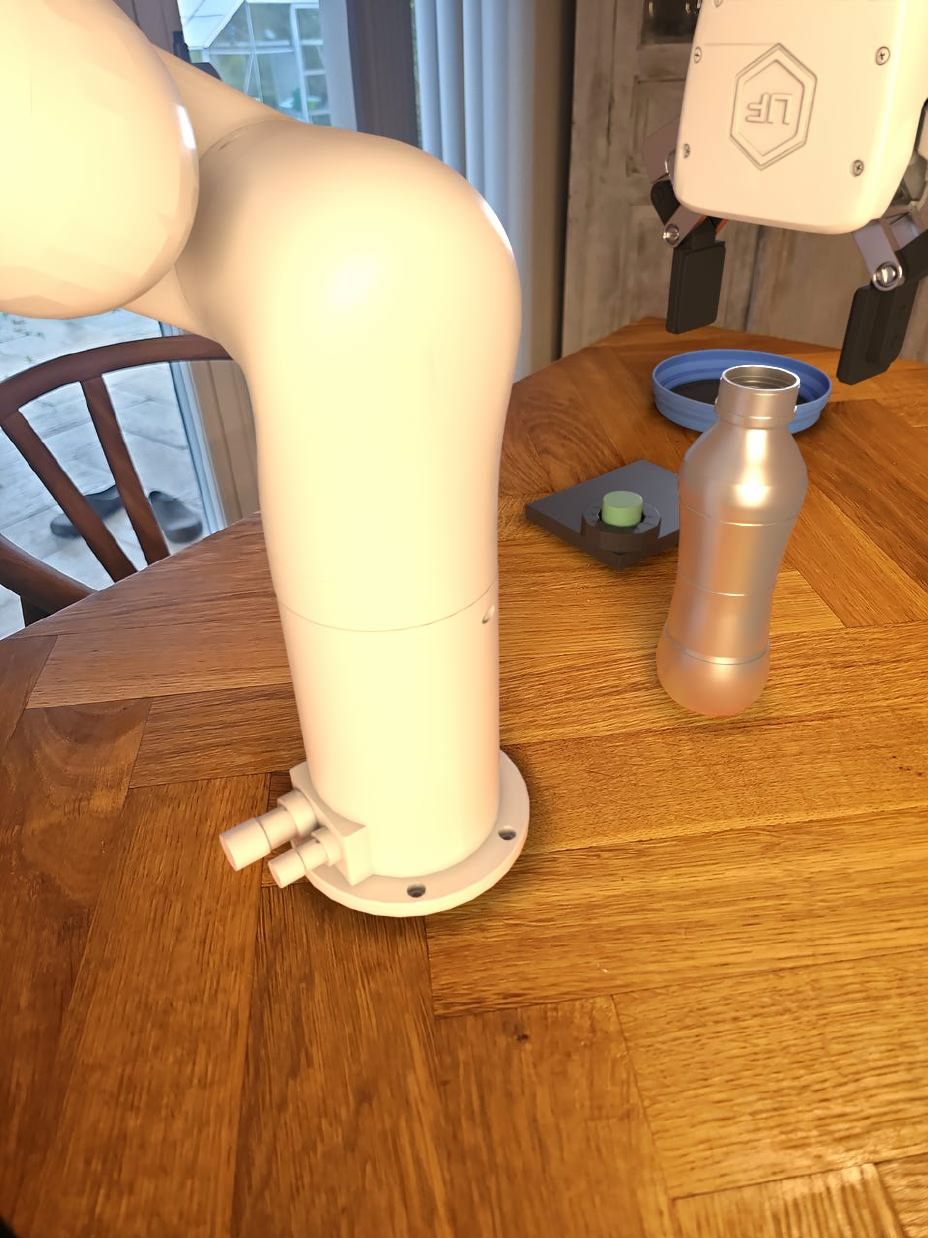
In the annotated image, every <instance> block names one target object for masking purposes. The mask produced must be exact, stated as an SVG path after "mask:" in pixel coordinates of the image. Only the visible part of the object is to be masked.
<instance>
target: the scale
mask: <svg viewBox="0 0 928 1238" xmlns="http://www.w3.org/2000/svg"><path fill="white" fill-rule="evenodd" d="M615 491H628V492H632V493H635V494H637V495H639V496H640V497H641V498H642V500H643V503H642V512H641V521H640V523H639V524H637V525H635V526H630V527H617V526H612V525H608V524H606V523H604V522H603V521H602V504H603V497H604V496H605V495H606V494H608V493H610V492H615ZM525 520H528V521H529V522H531V523H533V524H535V525H536V526H538V527H540V528H542V529H543V530H544V531H547V532H548V533H550V534H552V535H554V536H555V537H557V538H559V539H561V540H563V541H564V542H566V543H567V544H570V545H571V546H573V547H575V548H577V549H578V550H580V551H582V552H583V553H585V554H587V555H588V556H590V557H592V558H594V559H595V560H598V561H600V562H601V563H603V564H604V565H606V566H608V567H610V568H611V569H613V570H615V571H617V572H621V571H623V570H625V569H627V568H629V567H632V566H635V565H636V564H638V563H640V562H642V561H644V560H647V559H649V558H650V557H653V556H655V555H657V554H659V553H662V552H663V551H665V550H667V549H670V548H672V547H674V546H676V545H679V534H680V531H679V505H678V473H676V472H673V471H670V470H669V469H667V468H664V467H662V466H659V465H657V464H654V463H652V462H651V461H648V460H646V459H643V458H642V459H639V460H637V461H634V462H631V463H629V464H626V465H624V466H622V467H619V468H616V469H614V470H611V471H609V472H606V473H603V474H601V475H598V476H596V477H593V478H591V479H588V480H585V481H582V482H581V483H577V484H575V485H573V486H570V487H568V488H564V489H562V490H560V491H559V490H558V491H557V492H554V493H552V494H549V495H547V496H544V497H541V498H539V499H536V500H533V501H531V502H529V503H526V504H525Z"/></svg>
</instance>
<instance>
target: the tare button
mask: <svg viewBox="0 0 928 1238" xmlns="http://www.w3.org/2000/svg"><path fill="white" fill-rule="evenodd" d="M642 503H643V500H642V498H641V497H640V496H639V495H637V494H635V493H632V492H628V491H615V492H610V493H608V494H606V495H605V496H604V497H603V504H602V521H603V522H604V523H606V524H608V525H612V526H617V527H630V526H635V525H637V524H639V523H640V521H641V512H642Z"/></svg>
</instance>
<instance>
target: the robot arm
mask: <svg viewBox="0 0 928 1238" xmlns="http://www.w3.org/2000/svg"><path fill="white" fill-rule="evenodd" d="M641 152H642V154H641V155H642V158H643V162H644V165H645V170H646V173H647V177H648V181H649V182H648V183H649V184H651V185H652V187H651V189H650V195H649V196H650V201H651V204H652V206H653V208H654V209H655V211H656V213H657V215H658V217H659V219H660V221H661V222H662V224H663V229H662V240H663V242H664V244H665V246H667V247H668V248H670V249H672V259H671V267H670V268H671V269H670V278H669V279H670V280H669V287H668V289H669V290H668V298H667V310H666V319H665V330H666V332H667V333H670V334H672V335H675V336H676V335H681V334H684V333H687V332H690V331H694V330H697V329H700V328H703V327H707V326H710V325H712V324H714V323H715V322H716V320H717V318H718V313H719V305H720V297H721V291H722V285H723V284H722V283H723V277H724V276H723V275H724V268H725V262H726V261H725V260H726V253H727V248H726V240H722V239H716V236H717V235H718V234H719V233H720V232H721V231H722V229H723V228H724V227H725V226H726V224H727V223H728V222H729V221H730V220H731V221H736V222H742V223H749V224H755V225H760V226H766V227H772V228H773V227H774V228H779V229H786V230H793V231H799V232H805V233H813V234H819V235H820V234H821V235H843V234H846V233H847V234H848V233H850V234H851V236H852V239H853V241H854V243H855V246H856V248H857V251H858V252H859V255H860V257H861V260H862V261H863V264H864V265H865V268H866V270H867V273H868V275H869V278H870V280H869V284H866V285H862V286H860V287H858V288H857V289H856V290H855V291H854V293H853V297H852V301H851V305H850V310H849V315H848V319H847V323H846V328H845V332H844V336H843V341H842V345H841V350H840V355H839V359H838V363H837V368H836V373H835V378H837V380H838V382H839V383H841V384H844V385H848V386H854V385H857V384H859V383H862V382H864V381H867V380H869V379H871V378H875V377H876V376H879V375H882V374H884V373H886V372H887V371H888V370H889V368H890V366H891V365H892V364H893V363H894V362H895V361H896V360H897V358H898V357H899V356H900V353H901V351H902V349H903V346H904V341H905V338H906V335H907V331H908V326H909V323H910V320H911V315H912V311H913V308H914V305H915V300H916V297H917V293H918V289H919V285H920V281H922V280H925V279H928V228H926V226H925V224H924V222H923V219H922V217H921V215H920V212H919V211H920V210H921V209H922V208H923V206H924V205H925V204H926V201H927V199H928V0H701V2H700V8H699V12H698V17H697V21H696V26H695V30H694V34H693V39H692V45H691V49H690V56H689V60H688V66H687V72H686V78H685V84H684V90H683V96H682V101H681V110H680V115H678V116H676V117H675V118H673V119H672V120H670V121H669V122H667V123H666V124H664V125H662V126H661V127H660V128H658V129H657V130H655V131H654V132H652V133H650V134H649V135H647V136H646V137H645V138H644V139H643V142H642V145H641ZM521 286H522V284H521V277H520V274H519V269H518V264H517V261H516V257H515V254H514V252H513V247H512V244H511V243H510V240H509V238H508V236H507V234H506V231H505V229H504V227H503V225H502V223H501V222H500V220H499V218H498V216H497V215H496V213H495V212H494V210H493V209H492V207H491V206H490V204H489V203H488V202H487V201H486V199H485V198H484V196H483V195H482V194H481V193H480V192H479V191H478V190H477V188H475V187H474V186H473V184H471V183H470V182H469V181H468V180H467V179H466V178H465V177H464V176H463V175H462V174H461V173H460V172H458V171H457V170H456V169H454V168H453V167H451V166H450V165H448V164H447V163H445V162H443V161H442V160H441V159H439V158H438V157H436V156H434V155H433V154H431V153H429V152H428V151H425V150H423V149H421V148H418V147H416V146H413V145H411V144H409V143H406V142H403V141H401V140H399V139H395V138H390V137H388V136H382V135H377V134H371V133H367V132H361V131H356V130H352V129H347V128H342V127H338V126H332V125H320V124H315V123H310V122H306V121H302V120H300V119H297V118H295V117H292V116H290V115H288V114H286V113H284V112H282V111H280V110H278V109H276V108H274V107H271V106H270V105H267V104H266V103H263V102H262V101H260V100H259V99H256V98H254V97H253V96H250V95H249V94H246V93H244V92H243V91H241V90H239V89H237V88H235V87H234V86H232V85H230V84H228V83H226V82H225V81H222V80H221V79H218V78H217V77H215V76H213V75H211V74H209V73H207V72H206V71H204V70H202V69H200V68H199V67H197V66H195V65H192V63H189V62H187V61H185V60H183V59H182V58H180V57H178V56H177V55H174V54H172V53H171V52H169V51H167V50H165V49H163V48H161V47H159V46H157V45H156V44H154V43H153V42H151V41H150V40H149V39H148V37H147V36H146V34H145V33H144V31H143V30H141V29H140V27H139V26H138V25H137V24H136V23H135V22H134V21H133V20H132V19H131V18H130V17H129V16H128V15H127V14H126V13H125V12H124V11H123V10H122V8H121V7H120V6H119V5H118V4H117V3H116V2H115V1H114V0H0V312H1V313H5V314H8V315H9V314H10V315H14V316H18V317H22V318H27V319H36V320H37V319H38V320H39V319H41V320H59V321H60V320H61V321H69V320H70V321H71V320H75V319H80V318H88V317H93V316H100V315H104V314H107V313H110V312H113V311H116V310H119V309H121V310H124V311H127V312H130V313H134V314H136V315H138V316H142V317H145V318H148V319H151V320H154V321H157V322H160V323H162V324H165V325H167V326H168V325H169V326H171V327H174V328H178V329H181V330H183V331H187V332H189V333H192V334H195V335H197V336H200V337H203V338H205V339H208V340H211V341H213V342H215V343H218V344H219V345H220V346H221V347H222V348H223V349H224V350H225V351H226V353H227V354H228V356H229V357H230V358H231V359H233V361H234V362H235V363H236V364H237V365H238V366H239V367H240V369H241V371H242V373H243V376H244V378H245V382H246V386H247V389H248V394H249V398H250V403H251V408H252V409H251V410H252V415H253V422H254V431H255V441H256V442H255V443H256V472H257V473H256V474H257V490H258V502H259V511H260V519H261V525H262V532H263V539H264V545H265V550H266V556H267V563H268V566H269V572H270V578H271V581H272V587H273V590H274V593H275V599H276V602H277V609H278V614H279V618H280V623H281V629H282V634H283V635H282V636H283V639H284V640H283V641H284V645H285V646H284V647H285V650H286V656H287V661H288V666H289V673H290V677H291V683H292V688H293V693H294V698H295V704H296V709H297V714H298V715H297V716H298V721H299V725H300V731H301V735H302V742H303V747H304V753H305V757H306V759H305V760H303V762H300V763H298V764H296V765H294V766H292V767H291V768H289V771H288V772H289V775H290V781H291V785H292V790H290V791H289V792H287V793H285V794H282V795H280V796H279V797H278V798H277V799H276V805H277V807H275V808H273V809H271V810H269V811H267V812H265V813H263V814H261V815H259V816H258V817H254V816H252V817H250V818H248V819H246V820H245V821H243V822H241V823H239V824H237V825H235V826H233V827H230V828H229V829H227V830H224V831H223V832H221V833H219V835H218V839H219V842H220V845H221V848H222V850H223V852H224V854H225V857H226V858H227V860H228V862H229V864H230V865H231V868H232V869H234V871H235V872H238V871H240V870H241V869H243V868H246V867H247V866H249V865H251V864H253V863H255V862H256V861H258V860H260V859H262V858H264V857H265V856H267V855H270V854H271V853H272V851H273V850H275V849H277V848H279V847H280V846H283V845H284V844H285V843H288V842H290V845H291V848H290V849H289V850H287V851H284V852H283V853H281V854H279V855H278V856H276V857H274V858H272V859H270V860H269V861H267V866H268V868H269V871H270V874H271V876H272V878H273V880H274V882H276V885H277V886H278V887H279V888H280V889H283V888H286V887H287V886H288V885H290V884H292V883H294V882H296V881H298V880H300V879H301V878H303V877H304V876H305V877H306V879H308V880H309V883H311V884H312V885H313V886H314V888H316V889H317V890H318V891H320V892H321V893H323V894H324V895H325V896H326V897H328V898H329V899H330V900H332V901H334V902H337V903H339V904H341V905H343V906H345V907H347V908H349V909H351V910H355V911H358V912H362V913H366V914H369V915H372V916H373V915H374V916H384V917H395V918H407V917H418V916H419V917H420V916H427V915H432V914H436V913H439V912H444V911H448V910H451V909H453V908H456V907H458V906H461V905H464V904H465V903H467V902H470V901H473V900H474V899H475V898H477V897H479V896H480V895H481V894H483V893H485V892H487V891H488V890H489V889H491V888H492V887H494V886H495V885H496V883H498V882H499V881H500V880H501V879H502V878H503V877H504V876H505V875H506V874H507V873H508V872H509V871H510V869H512V867H513V866H514V864H515V862H516V861H517V859H518V858H519V856H520V855H521V854H522V850H523V849H524V845H525V843H526V841H527V837H528V833H529V827H530V826H529V825H530V797H529V793H528V789H527V784H526V782H525V779H524V777H523V776H522V774H521V771H520V770H519V767H518V766H517V765H516V764H515V762H514V761H512V759H511V758H510V757H509V756H508V754H506V753H505V752H504V751H503V750H502V749H500V747H501V746H500V744H501V743H500V742H501V741H500V611H499V610H500V606H499V605H500V600H499V599H500V597H499V595H500V594H499V593H500V592H499V591H500V590H499V589H500V588H499V585H500V583H499V582H500V581H499V580H500V579H499V578H500V577H499V559H498V558H499V553H498V552H499V550H498V547H499V543H498V542H499V541H498V540H499V539H498V537H499V536H498V534H499V533H498V530H499V529H498V528H499V527H498V525H499V519H498V517H499V487H500V486H499V483H500V467H501V457H502V448H503V440H504V439H503V438H504V432H505V427H506V420H507V415H508V411H509V410H508V409H509V403H510V400H511V394H512V390H513V389H512V388H513V386H514V385H513V384H514V380H515V375H516V369H517V364H518V359H519V353H520V347H521V337H522V331H523V330H522V329H523V293H522V287H521Z"/></svg>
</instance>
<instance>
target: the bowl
mask: <svg viewBox="0 0 928 1238" xmlns="http://www.w3.org/2000/svg"><path fill="white" fill-rule="evenodd" d="M745 365H760V366H769V367H775V368H780V369H783V370H787V371H789V372H791V373H793V374H795V375H796V376H798V377H799V379H800V387H799V391H798V396H797V401H796V406H797V411H796V415H795V419H794V420H793V421H792V422H790V423H788V424H787V428H788V430H789V431H790V433H791V435H792V434H796V433H799V432H802V431H805V430H807V429H809V428H810V427H811V426H813V425H814V424H815V423H817V421H818V420H819V418H820V415H821V412H822V410H823V409H824V408H825V406H826V405H827V404H828V401H829V399H830V398H831V394H832V388H833V384H832V380H831V379H830V377H829V375H827V373H825V372H824V371H823V370H821V369H819V368H818V367H816V366H815V365H812V364H810V363H808V362H805V361H802V360H799V359H796V358H793V357H789V356H785V355H781V354H777V353H771V352H765V351H759V350H750V349H735V348H734V349H731V348H730V349H728V348H727V349H726V348H719V349H703V350H695V351H688V352H684V353H680V354H677V355H673V356H671V357H668V358H666V359H664V360H662V361H661V362H659V363H658V364H657V365H656V366H655V367H654V369H653V370H652V375H651V386H652V392H653V394H654V396H655V398H654V401H655V402H654V403H655V406H656V408H657V410H658V411H659V413H660V414H661V415H662V416H663V417H665V418H666V419H668V420H669V421H671V422H672V423H674V424H676V425H679V426H681V427H683V428H685V429H689V430H692V431H696V432H700V433H704V432H705V431H706V430H707V429H708V428H709V427H710V426H711V425H712V424H713V423H714V422H715V421H717V419H718V416H717V415H716V414H715V412H714V404H715V400H716V398H717V397H718V393H719V386H720V380H721V377H722V374H723V372H724V371H725V370H727V369H729V368H732V367H737V366H745Z"/></svg>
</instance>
